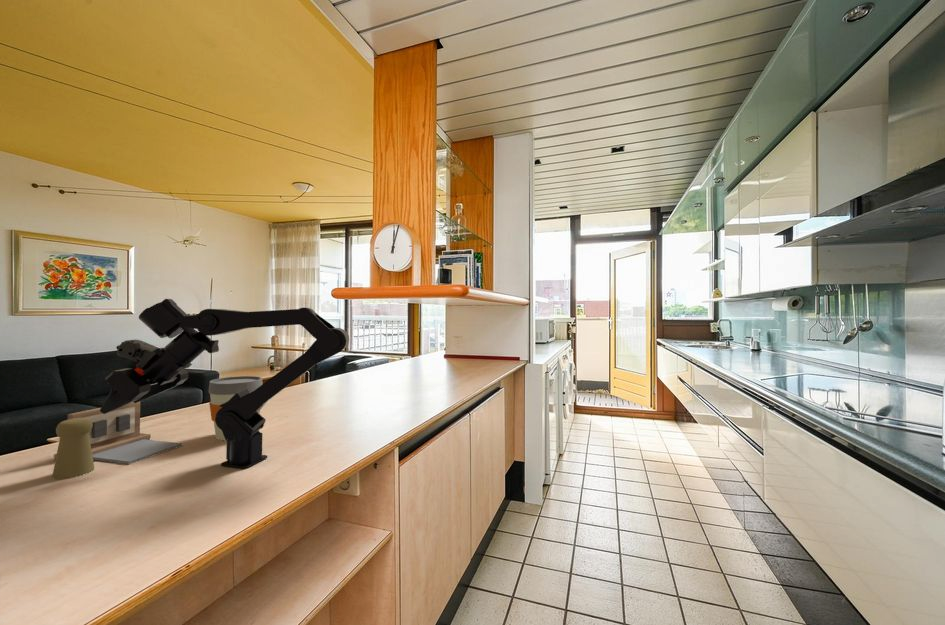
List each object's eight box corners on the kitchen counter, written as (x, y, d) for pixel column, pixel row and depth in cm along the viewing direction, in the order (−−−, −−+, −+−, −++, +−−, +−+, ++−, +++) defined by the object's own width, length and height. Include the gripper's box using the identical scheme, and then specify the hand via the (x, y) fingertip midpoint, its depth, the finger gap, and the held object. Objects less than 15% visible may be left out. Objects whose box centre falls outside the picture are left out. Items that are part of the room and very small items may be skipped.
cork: (72, 479, 74) (73, 423, 74) (42, 478, 75) (43, 423, 75) (103, 467, 80) (103, 415, 81) (75, 466, 81) (76, 414, 81)
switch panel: (150, 438, 98) (151, 400, 98) (74, 462, 83) (75, 416, 83) (132, 437, 100) (133, 399, 100) (53, 459, 84) (54, 414, 84)
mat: (182, 445, 94) (182, 443, 94) (129, 464, 82) (129, 461, 82) (143, 441, 96) (143, 439, 96) (87, 459, 85) (87, 456, 85)
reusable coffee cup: (272, 431, 106) (273, 378, 106) (227, 446, 94) (228, 385, 94) (242, 425, 111) (243, 374, 111) (196, 438, 99) (197, 381, 99)
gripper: (174, 325, 89) (119, 373, 87) (118, 328, 71) (46, 388, 69) (211, 358, 91) (157, 405, 89) (165, 369, 73) (96, 430, 70)
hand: (118, 406), depth 79 cm, fingers open, 9 cm apart
